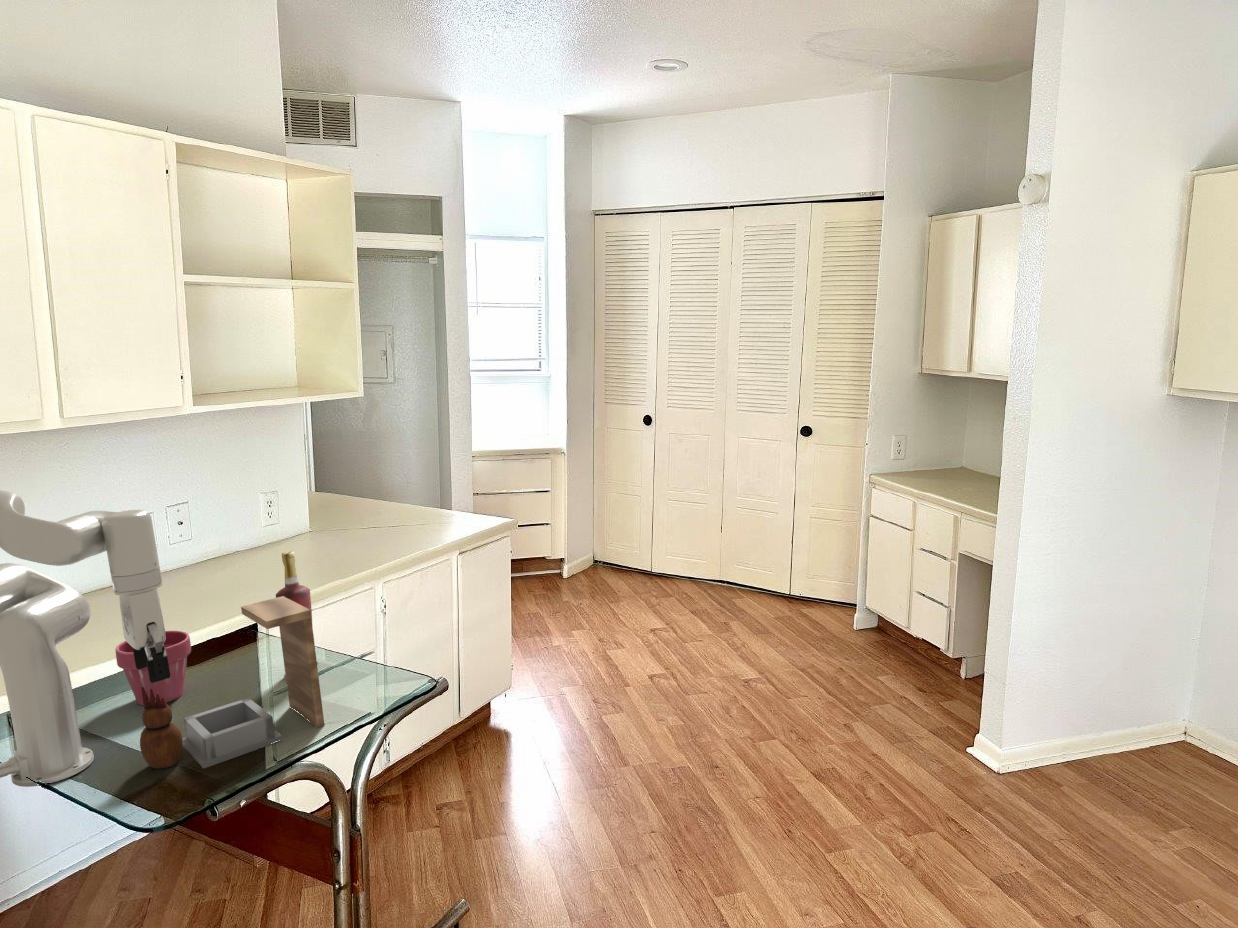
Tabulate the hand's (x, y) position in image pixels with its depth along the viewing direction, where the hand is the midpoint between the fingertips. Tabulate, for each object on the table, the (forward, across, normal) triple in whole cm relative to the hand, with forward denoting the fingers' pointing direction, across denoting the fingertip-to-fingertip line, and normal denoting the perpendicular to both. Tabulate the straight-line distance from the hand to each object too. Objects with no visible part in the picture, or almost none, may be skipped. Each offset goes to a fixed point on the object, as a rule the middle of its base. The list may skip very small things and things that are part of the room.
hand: (153, 673), depth 152 cm
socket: (+18, 0, +11) cm, 21 cm away
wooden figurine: (+18, 0, -1) cm, 18 cm away
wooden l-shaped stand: (+18, 0, +23) cm, 29 cm away
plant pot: (+17, -36, +7) cm, 40 cm away
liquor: (+18, -24, +34) cm, 46 cm away
